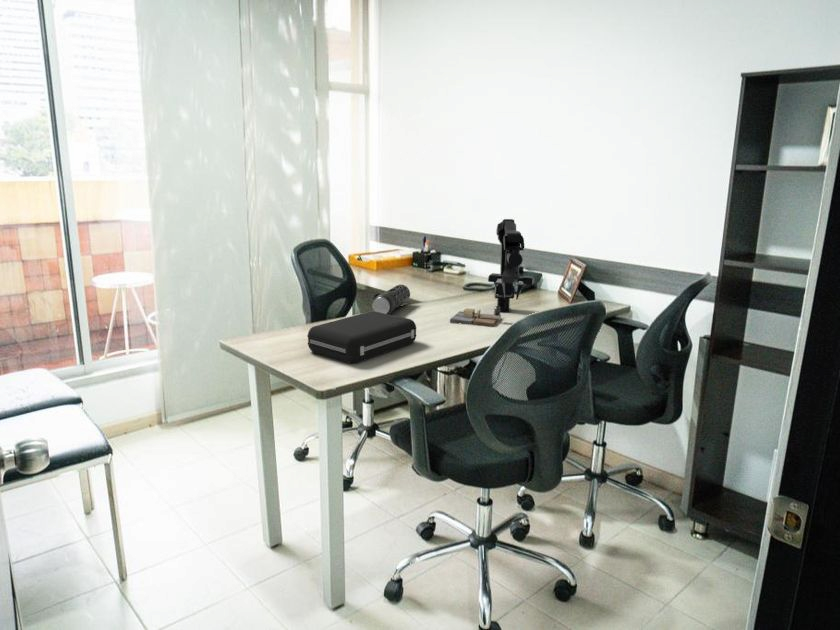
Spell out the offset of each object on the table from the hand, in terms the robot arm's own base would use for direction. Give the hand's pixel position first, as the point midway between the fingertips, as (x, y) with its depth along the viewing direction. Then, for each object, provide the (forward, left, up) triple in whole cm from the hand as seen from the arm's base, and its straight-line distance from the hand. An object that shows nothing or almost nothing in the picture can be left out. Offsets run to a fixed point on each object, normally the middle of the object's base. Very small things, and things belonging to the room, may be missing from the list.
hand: (510, 298), depth 265 cm
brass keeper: (0, -17, -10) cm, 19 cm away
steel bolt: (0, -8, -9) cm, 12 cm away
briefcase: (+52, -47, -12) cm, 71 cm away
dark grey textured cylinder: (-2, -55, -11) cm, 57 cm away
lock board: (0, -15, -11) cm, 19 cm away
